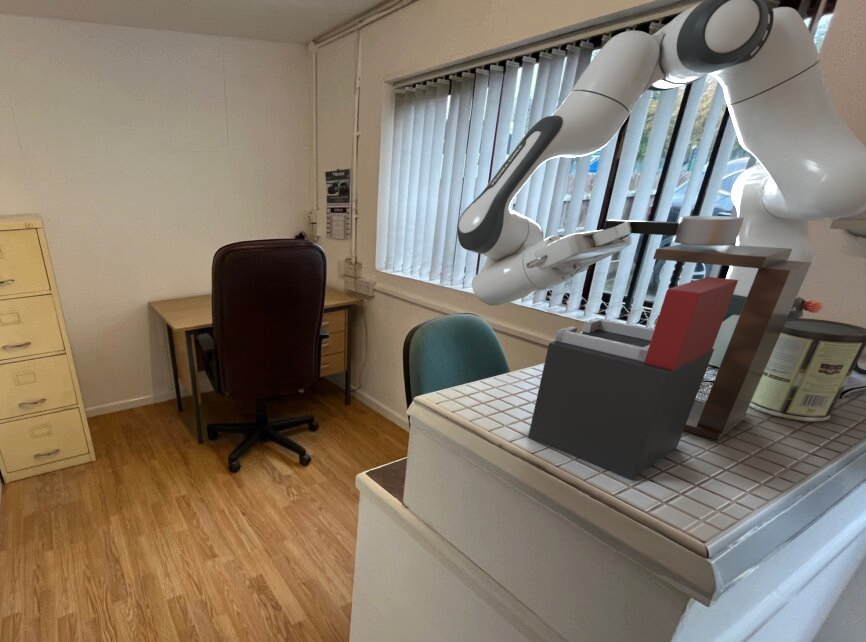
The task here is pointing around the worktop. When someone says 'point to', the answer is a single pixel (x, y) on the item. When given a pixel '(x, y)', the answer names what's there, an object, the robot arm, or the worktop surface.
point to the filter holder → (690, 229)
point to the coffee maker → (630, 380)
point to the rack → (743, 328)
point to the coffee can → (809, 369)
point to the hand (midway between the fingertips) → (635, 225)
